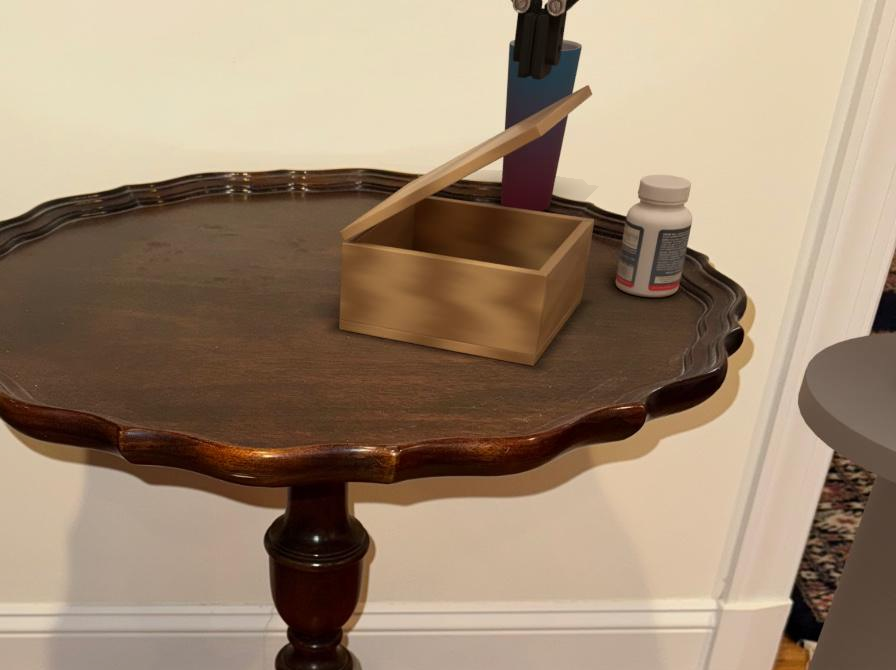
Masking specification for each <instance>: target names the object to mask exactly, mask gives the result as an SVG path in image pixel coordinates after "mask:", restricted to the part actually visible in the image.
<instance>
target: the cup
mask: <svg viewBox="0 0 896 670" xmlns="http://www.w3.org/2000/svg"><path fill="white" fill-rule="evenodd" d="M514 42H515V39H513V40H511V41H509V47H508V60H507V61H508V62H507V63H508V65H507V81H506V97H505V99H506V100H505V118H504V131H505V130H507V129H508V128H510V127H512V126H514V125H516V124H518V123H519V122H521V121H523V120H525V119H527V118H528V117H530V116H532V115H534V114H536V113H538V112H539V111H541V110H543V109H545V108H547V107H548V106H550V105H552V104H554V103H556V102H558V101H559V100H561V99H563V98H565V97H567V96H568V95H570V94H572V93H574V89H575V84H576V78H577V73H578V68H579V65H580V64H579V63H580V60H581V59H580V58H581V53H582V48H583V45H582V44H581V43H580V42H576V41H573V40H567V39H563V43H562V50H561V57H560V61H559V63H558V65H556V66H553V65H552V69H551V72H550V74H548V75H547V76H546V77H544V78H543V79H541V80H537V79H533V77H531V76H528V77H527V78H519V77H518V67H519V62H514V61H513V51H514ZM568 118H569V114H568V115H567V116H566V117H564V118H563V119H562V120H561V121H559V122H558V123H557V124H556V125H555V126H553V127H552V128H551V129H550V130H548V131H547V132H546V133H545V134H544V135H542V136H541V137H539V138H538V139H536V140H534V141H532V142H530V143H528V144H526V145H524V146H523V147H521V148H519V149H517V150H515V151H513V152H511V153H509V154H508V155H506V156H504V157H502V169H501V171H502V172H501V190H500V204H501V205H500V206H504V207H511V208H518V209H525V210H532V211H539V212H543V211H545V210H549V208H550V207H551V202H552V198H553V192H554V188H555V183H556V178H557V173H558V167H559V163H560V157H561V152H562V148H563V143H564V139H565V134H566V129H567V123H568Z"/></svg>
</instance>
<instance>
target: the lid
mask: <svg viewBox="0 0 896 670" xmlns="http://www.w3.org/2000/svg"><path fill="white" fill-rule="evenodd" d="M592 95H593V92H592V89H591V87H590V85H589V84H586V85H585V86H583V87H581V88H579V89H577V90H576V91H573V93H572V94H570V95H568V96H567V97H565V98H563V99H561V100H559V101H558V102H556V103H554V104H552V105H550V106H548V107H547V108H545V109H543V110H541V111H539V112H538V113H536V114H534V115H532V116H530V117H528V118H527V119H525V120H523V121H521V122H519V123H518V124H516V125H514V126H512V127H510V128H508V129H507V130H505V129H504V130H503V131H501V132H499V133H498V134H495V135H494V136H492V137H490V138H489V139H487V140H484V141H483V142H481V143H480V144H478V145H475V146H474V147H472V148H470V149H468V150H467V151H465V152H463V153H461V154H459V155H457V156H456V157H453V158H452V159H451V160H448V161H447V162H445V163H443V164H441V165H439V166H438V167H436V168H434V169H432V170H430V171H428V172H427V173H425V174H423V175H421V176H419V177H418V178H417V177H416V179H414V180H412V181H410V182H408V183H407V184H406V185H404V186H403V187H401V188H400V189H398V190H397V191H396V192H394V193H393V194H391V195H390V196H389V197H387V198H385V199H384V200H383V201H381V202H380V203H379V204H377V205H376V206H374V207H373V208H371V209H370V210H369V211H367V212H366V213H365V214H363V215H361V216H360V217H359V218H356V220H354V221H353V222H351V223H350V224H349V225H347V226H346V227H344V228H343V229H342V230H340V235H341V237H342V238H343V241H347V240H348V239H350V238H352V237H354V236H356V235H358V234H360V233H362V232H363V231H365V230H367V229H369V228H371V227H373V226H375V225H377V224H378V223H380V222H382V221H384V220H386V219H388V218H390V217H391V216H393V215H395V214H397V213H399V212H401V211H403V210H405V209H406V208H408V207H410V206H412V205H414V204H416V203H418V202H420V201H421V200H423V199H425V198H427V197H429V196H433V195H434V194H437V193H438V192H440V191H442V190H444V189H446V188H448V187H450V186H451V185H453V184H456V183H457V182H459V181H461V180H462V179H465V178H466V177H468V176H470V175H472V174H474V173H476V172H478V171H479V170H482V169H483V168H485V167H488V166H489V165H490V164H492V163H494V162H496V161H498V160H500V159H503V157H504V156H506V155H508V154H509V153H511V152H513V151H515V150H517V149H519V148H521V147H523V146H524V145H526V144H528V143H530V142H532V141H534V140H536V139H538V138H539V137H541V136H542V135H544V134H545V133H546V132H547V131H548V130H550V129H551V128H552V127H553V126H555V125H556V124H557V123H558V122H559V121H561V120H562V119H563V118H564V117H566V116H567V115H568V116H569V114H570V113H572V112H573V111H574V110H576V109H577V108H578V107H580V106H581V105H582V104H583V103H584V102H585V101H586V100H588V99H589V98H590V97H592Z"/></svg>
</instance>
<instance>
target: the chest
mask: <svg viewBox="0 0 896 670" xmlns="http://www.w3.org/2000/svg"><path fill="white" fill-rule="evenodd" d="M594 224H595V219H594V218H588V217H581V216H574V215H568V214H567V215H566V214H561V213H553V212H546V211H532V210H525V209H518V208H511V207H504V206H502V205H497V204H488V203H483V202H475V201H467V200H460V199H453V198H447V197H439V196H433V195H431V196H429V197H427V198H425V199H423V200H421V201H420V202H418V203H416V204H414V205H412V206H410V207H408V208H406V209H405V210H403V211H401V212H399V213H397V214H395V215H393V216H391V217H390V218H388V219H386V220H384V221H382V222H380V223H378V224H377V225H375V226H373V227H371V228H369V229H367V230H365V231H363V232H362V233H360V234H358V235H356V236H354V237H352V238H350V239H348V240H347V241H345V240H343V242H342V243H341V264H340V265H341V266H340V293H339V294H340V296H339V321H338V329H339V330H340V331H346V332H350V333H357V334H362V335H368V336H372V337H376V338H383V339H388V340H392V341H393V340H394V341H398V342H403V343H409V344H415V345H421V346H425V347H430V348H435V349H441V350H446V351H451V352H456V353H462V354H467V355H473V356H478V357H482V358H488V359H493V360H499V361H505V362H509V363H514V364H519V365H520V364H521V365H525V366H531V367H534V366H535V365H536V364H537V362H538V361H539V360H540V358H541V357H542V355H543V354H544V352H545V351H546V350H547V349H548V348H549V346H550V345H551V343H552V342H553V340H554V339H555V338H556V336H557V335H558V334H559V332H560V331H561V330H562V328H563V327H564V325H565V324H566V323H567V322H568V320H569V319H570V318H571V316H572V315H573V313H574V312H575V310H576V309H577V308H578V306H579V305H581V302H582V299H583V293H584V287H585V281H586V273H587V268H588V261H589V256H590V251H591V250H590V249H591V243H592V237H593V231H594V227H595V226H594Z"/></svg>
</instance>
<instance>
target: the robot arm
mask: <svg viewBox="0 0 896 670" xmlns="http://www.w3.org/2000/svg"><path fill="white" fill-rule="evenodd" d="M510 1H511V3H512V8H513V10H514V12H516V13H517V18H516V27H515V35H514V40H515V42H514V51H513V61H514V62H519V67H518V77H519V78H527V77H528V76H531V77H533V79H537V80H541V79H543V78H544V77H546V76H547V75H548V74H550V72H551V69H552V65H553V66H556V65H558V63H559V61H560V57H561V50H562V43H563V40H564V36H565V28H566V21H567V14H568V11H569V10H571V9H572V8H573V7H574V6H575V5H576V4H577V3H578V2H579V1H580V0H547V2H546V3H545V4H544V7H543V3H544V1H543V0H510Z"/></svg>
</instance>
